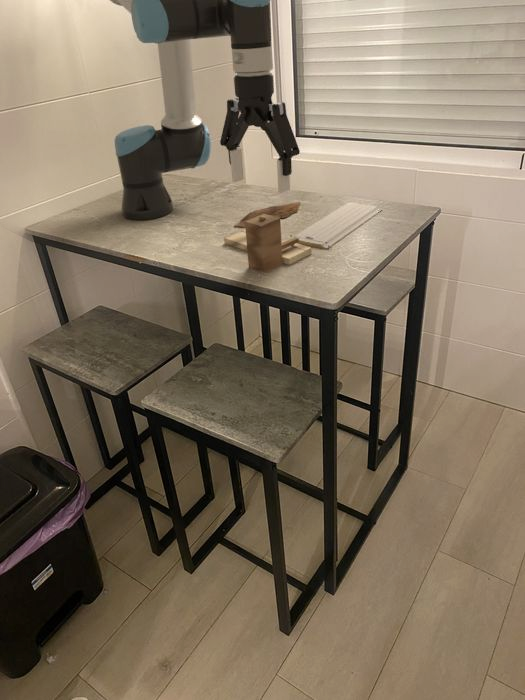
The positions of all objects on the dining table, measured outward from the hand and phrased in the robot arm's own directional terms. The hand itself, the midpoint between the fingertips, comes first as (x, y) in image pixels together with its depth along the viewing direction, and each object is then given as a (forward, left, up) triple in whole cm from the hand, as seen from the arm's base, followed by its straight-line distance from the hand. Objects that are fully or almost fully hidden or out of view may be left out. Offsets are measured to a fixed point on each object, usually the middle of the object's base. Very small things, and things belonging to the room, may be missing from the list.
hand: (260, 185), depth 112 cm
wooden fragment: (-23, +26, -19) cm, 40 cm away
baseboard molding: (-1, +30, -19) cm, 36 cm away
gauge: (0, +4, -18) cm, 19 cm away
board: (-7, +8, -18) cm, 21 cm away
